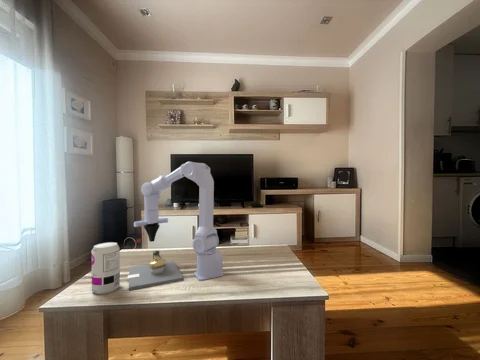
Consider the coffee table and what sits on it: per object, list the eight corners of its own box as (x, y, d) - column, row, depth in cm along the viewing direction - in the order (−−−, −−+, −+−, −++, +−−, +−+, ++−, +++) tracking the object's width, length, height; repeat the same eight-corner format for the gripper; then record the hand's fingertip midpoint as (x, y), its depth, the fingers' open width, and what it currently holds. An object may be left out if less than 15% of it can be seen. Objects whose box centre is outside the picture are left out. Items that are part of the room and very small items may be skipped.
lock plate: (173, 262, 104) (173, 251, 104) (183, 280, 85) (183, 266, 85) (127, 269, 97) (127, 257, 97) (127, 290, 78) (127, 275, 78)
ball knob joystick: (166, 267, 89) (166, 260, 89) (149, 269, 87) (149, 262, 87) (163, 256, 103) (163, 249, 103) (148, 258, 100) (148, 251, 100)
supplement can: (88, 296, 74) (87, 249, 74) (96, 285, 82) (96, 242, 82) (116, 293, 76) (116, 247, 76) (121, 282, 84) (121, 241, 84)
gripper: (162, 208, 110) (163, 236, 110) (130, 210, 100) (131, 242, 100) (170, 209, 105) (170, 239, 105) (137, 212, 95) (137, 245, 95)
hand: (151, 241), depth 102 cm, fingers closed
